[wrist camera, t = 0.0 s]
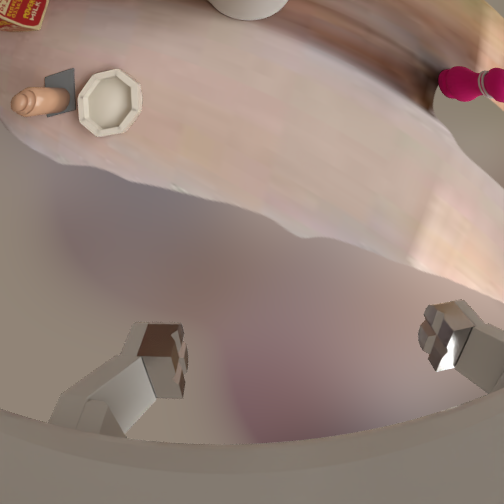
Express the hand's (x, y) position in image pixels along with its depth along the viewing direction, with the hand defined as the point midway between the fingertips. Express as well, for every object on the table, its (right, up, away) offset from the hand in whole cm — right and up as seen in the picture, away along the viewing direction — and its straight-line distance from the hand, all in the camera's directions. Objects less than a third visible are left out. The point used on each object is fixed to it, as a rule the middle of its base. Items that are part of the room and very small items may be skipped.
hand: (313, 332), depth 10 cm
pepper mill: (+38, +37, +37) cm, 65 cm away
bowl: (-27, +29, +38) cm, 55 cm away
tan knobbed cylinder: (-38, +31, +36) cm, 62 cm away
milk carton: (-48, +52, +27) cm, 75 cm away
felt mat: (-39, +33, +36) cm, 62 cm away
